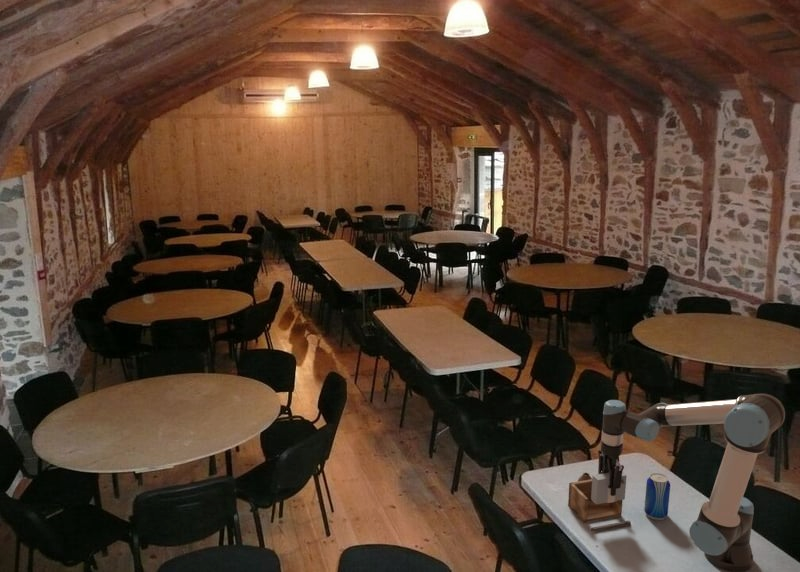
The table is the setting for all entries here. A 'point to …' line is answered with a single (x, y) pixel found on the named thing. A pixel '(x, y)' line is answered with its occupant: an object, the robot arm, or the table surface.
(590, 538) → the table surface
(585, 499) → the box
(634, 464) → the table surface
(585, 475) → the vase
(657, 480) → the beer can
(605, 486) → the grey flat-topped box
